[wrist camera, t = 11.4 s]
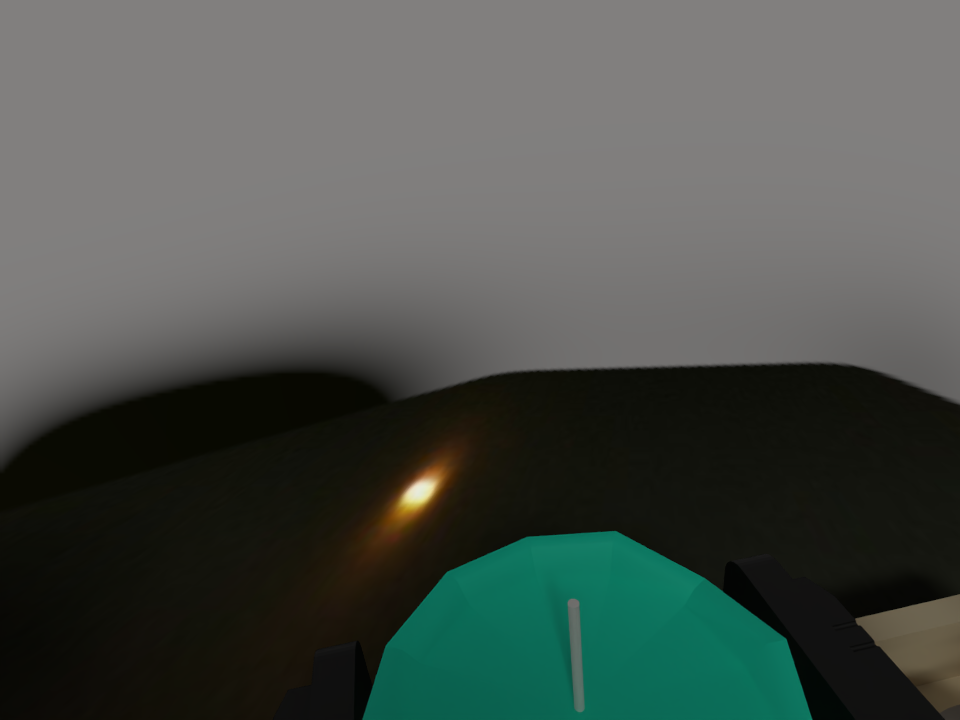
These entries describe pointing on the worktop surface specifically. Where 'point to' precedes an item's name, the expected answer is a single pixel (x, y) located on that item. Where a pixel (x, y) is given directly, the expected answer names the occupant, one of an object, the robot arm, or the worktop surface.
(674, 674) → the candle
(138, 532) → the worktop surface
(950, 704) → the tray
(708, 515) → the worktop surface
